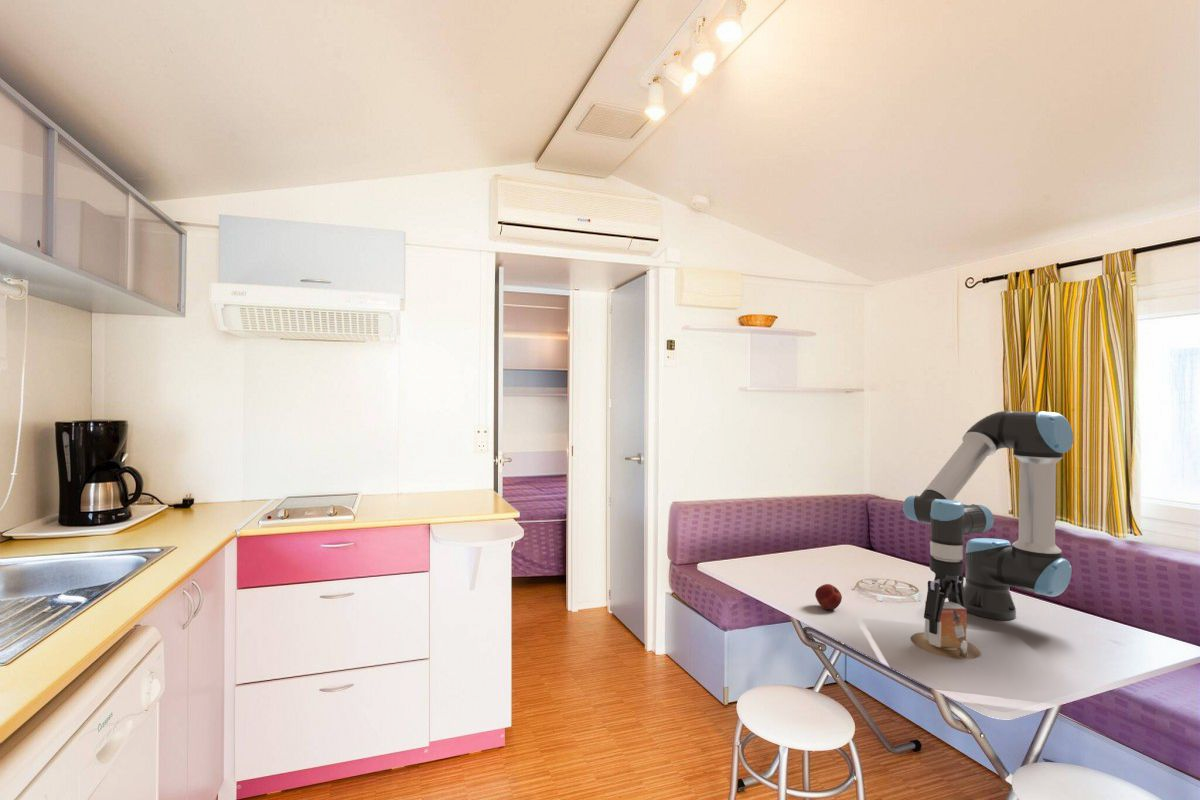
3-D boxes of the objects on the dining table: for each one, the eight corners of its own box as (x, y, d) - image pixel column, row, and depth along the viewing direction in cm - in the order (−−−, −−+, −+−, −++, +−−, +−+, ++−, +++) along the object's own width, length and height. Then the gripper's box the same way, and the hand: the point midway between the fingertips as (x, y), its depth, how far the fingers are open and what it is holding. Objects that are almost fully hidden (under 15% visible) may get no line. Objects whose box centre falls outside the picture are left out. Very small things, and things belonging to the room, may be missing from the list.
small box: (936, 647, 145) (936, 608, 145) (924, 638, 150) (924, 600, 150) (966, 648, 145) (967, 608, 145) (953, 639, 150) (953, 600, 150)
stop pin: (965, 655, 142) (965, 639, 142) (968, 658, 140) (968, 642, 140) (958, 654, 142) (958, 639, 142) (961, 657, 140) (961, 641, 140)
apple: (833, 615, 171) (833, 589, 171) (810, 607, 177) (810, 583, 177) (845, 610, 175) (845, 585, 175) (822, 602, 181) (822, 578, 181)
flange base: (966, 641, 153) (966, 635, 153) (992, 668, 138) (992, 662, 138) (903, 634, 157) (903, 629, 157) (921, 660, 142) (921, 653, 142)
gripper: (952, 549, 157) (951, 627, 157) (909, 560, 145) (907, 644, 145) (982, 556, 150) (980, 637, 150) (938, 567, 139) (937, 656, 139)
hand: (945, 641), depth 148 cm, fingers closed on small box, 9 cm apart
